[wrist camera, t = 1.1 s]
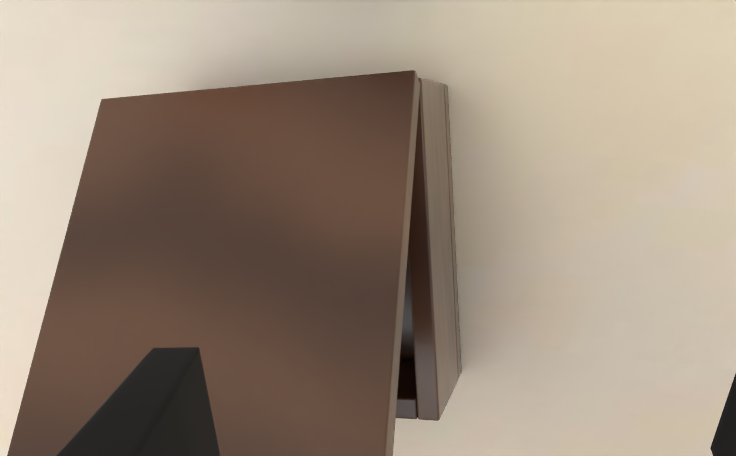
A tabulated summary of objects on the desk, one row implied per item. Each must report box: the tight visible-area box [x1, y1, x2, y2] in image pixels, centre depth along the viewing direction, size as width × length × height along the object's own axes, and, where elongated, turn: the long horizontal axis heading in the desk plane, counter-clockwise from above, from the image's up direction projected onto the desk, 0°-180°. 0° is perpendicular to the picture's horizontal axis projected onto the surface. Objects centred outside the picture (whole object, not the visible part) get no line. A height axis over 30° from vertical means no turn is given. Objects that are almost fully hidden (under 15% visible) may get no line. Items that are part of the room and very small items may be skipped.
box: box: [395, 78, 461, 420], centre depth 24 cm, size 10×10×4 cm
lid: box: [7, 70, 420, 456], centre depth 19 cm, size 11×10×1 cm
